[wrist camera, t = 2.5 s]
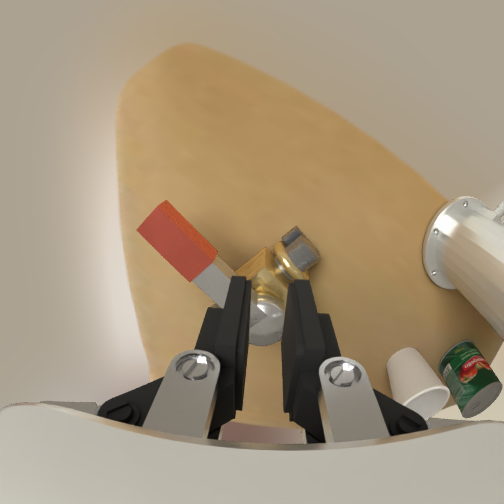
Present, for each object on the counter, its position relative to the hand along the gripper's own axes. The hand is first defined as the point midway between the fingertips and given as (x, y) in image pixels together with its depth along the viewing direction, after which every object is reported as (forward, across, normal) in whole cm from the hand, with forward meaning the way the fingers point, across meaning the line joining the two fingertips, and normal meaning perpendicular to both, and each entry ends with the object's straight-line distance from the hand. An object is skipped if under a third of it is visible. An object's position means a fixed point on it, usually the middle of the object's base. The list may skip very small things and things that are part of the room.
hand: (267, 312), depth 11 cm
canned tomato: (+21, -35, +24) cm, 47 cm away
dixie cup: (+21, -23, +23) cm, 39 cm away
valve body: (+21, 0, +9) cm, 23 cm away
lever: (+13, +4, +5) cm, 14 cm away
